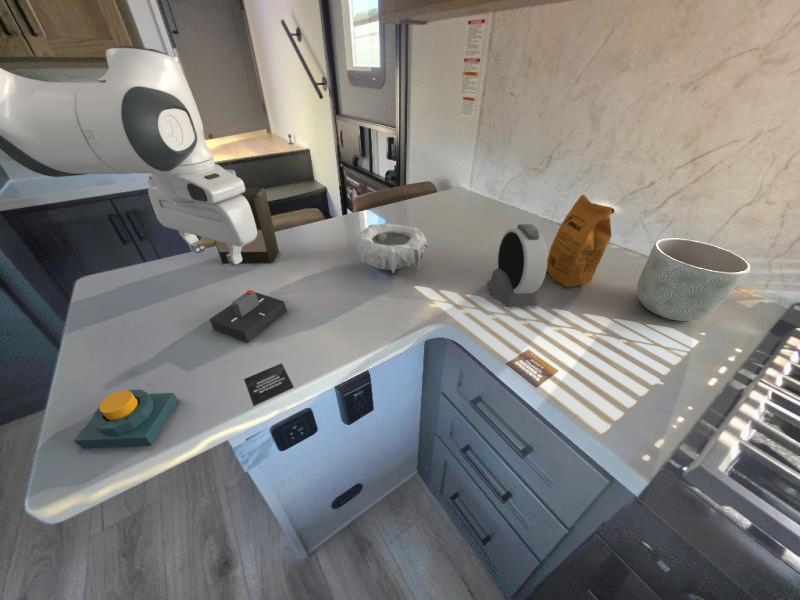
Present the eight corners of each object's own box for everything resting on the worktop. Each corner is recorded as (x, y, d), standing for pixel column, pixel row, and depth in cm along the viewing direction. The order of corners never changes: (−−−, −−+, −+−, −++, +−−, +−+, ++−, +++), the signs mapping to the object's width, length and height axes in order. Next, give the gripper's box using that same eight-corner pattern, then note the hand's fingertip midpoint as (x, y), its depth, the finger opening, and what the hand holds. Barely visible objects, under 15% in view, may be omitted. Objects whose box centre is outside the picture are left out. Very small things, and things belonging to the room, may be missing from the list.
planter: (701, 302, 81) (740, 249, 72) (714, 341, 69) (762, 282, 60) (625, 283, 88) (652, 232, 79) (625, 315, 76) (657, 259, 67)
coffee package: (568, 265, 96) (596, 191, 83) (595, 287, 86) (631, 208, 73) (538, 267, 94) (561, 192, 82) (561, 289, 84) (592, 209, 72)
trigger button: (99, 421, 47) (92, 413, 45) (117, 399, 50) (110, 390, 49) (128, 420, 47) (121, 412, 46) (144, 398, 50) (138, 389, 49)
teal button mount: (81, 448, 47) (65, 433, 45) (117, 403, 53) (105, 387, 51) (152, 445, 48) (139, 430, 45) (178, 400, 54) (169, 385, 52)
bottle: (229, 251, 99) (201, 167, 84) (281, 251, 100) (262, 167, 85) (218, 264, 92) (186, 175, 78) (274, 263, 93) (253, 175, 78)
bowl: (347, 278, 87) (344, 245, 81) (365, 246, 104) (364, 216, 98) (422, 286, 85) (424, 252, 79) (428, 251, 101) (431, 222, 95)
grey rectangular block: (242, 317, 68) (237, 303, 66) (236, 315, 68) (231, 301, 66) (259, 304, 72) (255, 290, 69) (253, 302, 72) (249, 289, 70)
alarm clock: (482, 277, 89) (495, 214, 78) (517, 275, 90) (534, 213, 79) (503, 312, 76) (522, 242, 65) (544, 310, 77) (568, 241, 66)
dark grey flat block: (248, 343, 66) (244, 331, 64) (213, 329, 69) (208, 318, 67) (286, 311, 75) (284, 300, 73) (254, 300, 78) (251, 290, 76)
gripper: (125, 175, 51) (162, 252, 59) (217, 194, 44) (245, 277, 52) (163, 166, 55) (192, 239, 64) (251, 182, 49) (272, 260, 57)
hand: (217, 256), depth 58 cm, fingers open, 8 cm apart
